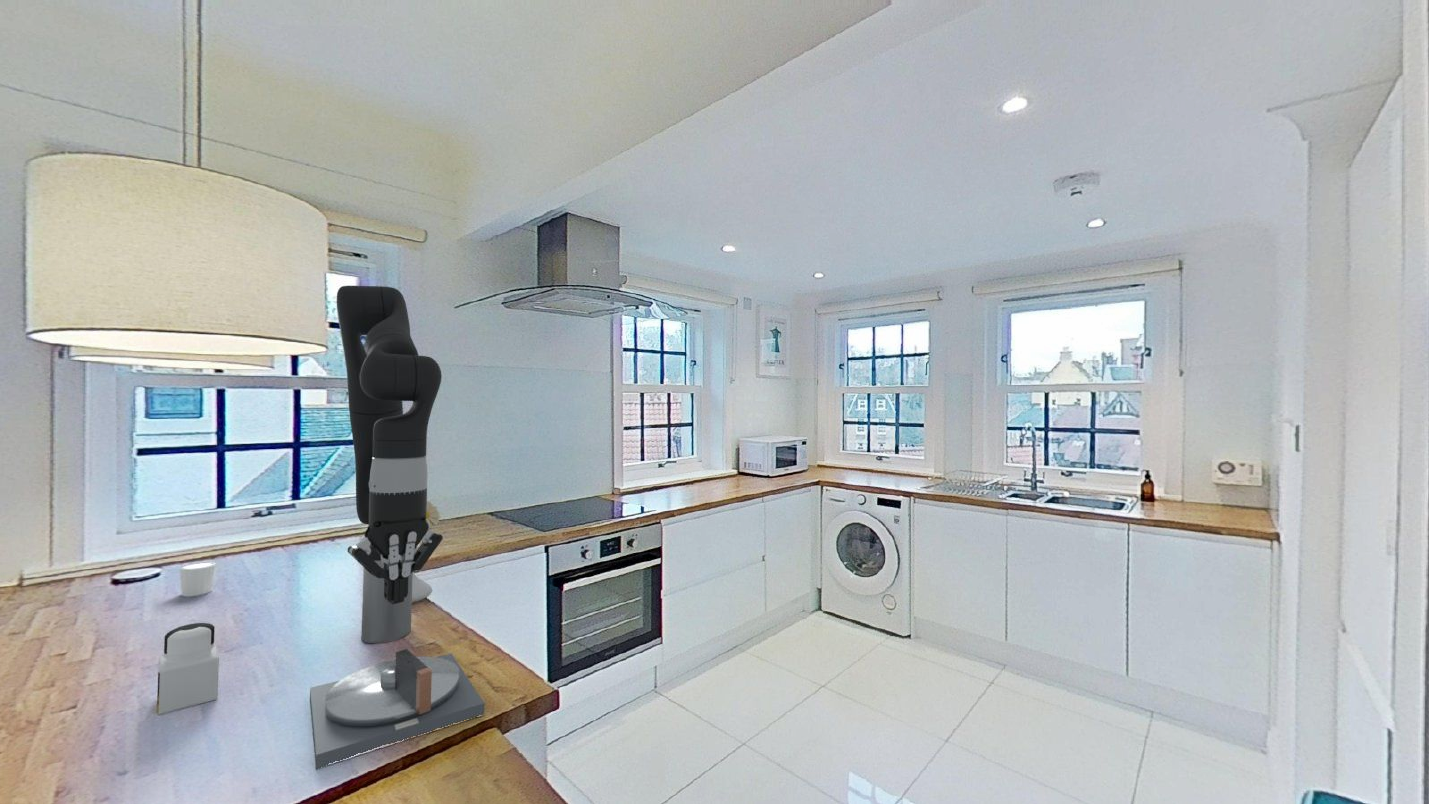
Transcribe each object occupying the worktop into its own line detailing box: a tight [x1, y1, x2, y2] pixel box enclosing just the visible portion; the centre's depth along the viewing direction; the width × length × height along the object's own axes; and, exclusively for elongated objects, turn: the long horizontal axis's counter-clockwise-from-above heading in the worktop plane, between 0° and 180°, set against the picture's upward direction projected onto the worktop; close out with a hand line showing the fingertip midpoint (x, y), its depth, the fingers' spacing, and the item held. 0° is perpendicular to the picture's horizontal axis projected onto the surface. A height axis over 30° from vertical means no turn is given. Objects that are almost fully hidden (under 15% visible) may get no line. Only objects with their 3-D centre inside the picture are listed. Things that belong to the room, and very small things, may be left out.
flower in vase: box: [412, 500, 441, 603], centre depth 139 cm, size 13×11×25 cm
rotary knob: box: [325, 648, 459, 726], centre depth 89 cm, size 22×19×8 cm
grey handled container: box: [156, 622, 220, 716], centre depth 91 cm, size 7×7×12 cm
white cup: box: [179, 561, 217, 597], centre depth 140 cm, size 7×7×7 cm
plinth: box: [309, 652, 485, 770], centre depth 89 cm, size 22×22×2 cm
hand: (395, 601), depth 81 cm, fingers closed
